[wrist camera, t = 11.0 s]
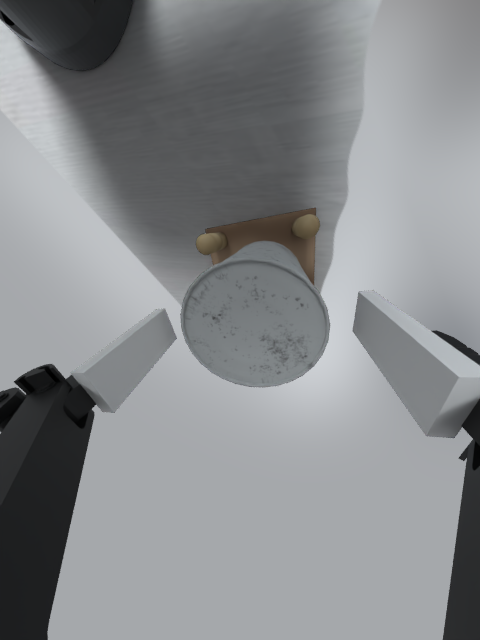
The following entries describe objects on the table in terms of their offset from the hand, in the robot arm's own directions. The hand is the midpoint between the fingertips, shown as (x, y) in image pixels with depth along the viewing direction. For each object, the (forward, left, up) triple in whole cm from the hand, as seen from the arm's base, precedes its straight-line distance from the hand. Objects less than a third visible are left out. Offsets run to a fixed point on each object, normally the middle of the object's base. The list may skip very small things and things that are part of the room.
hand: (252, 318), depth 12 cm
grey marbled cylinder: (0, 0, -11) cm, 11 cm away
